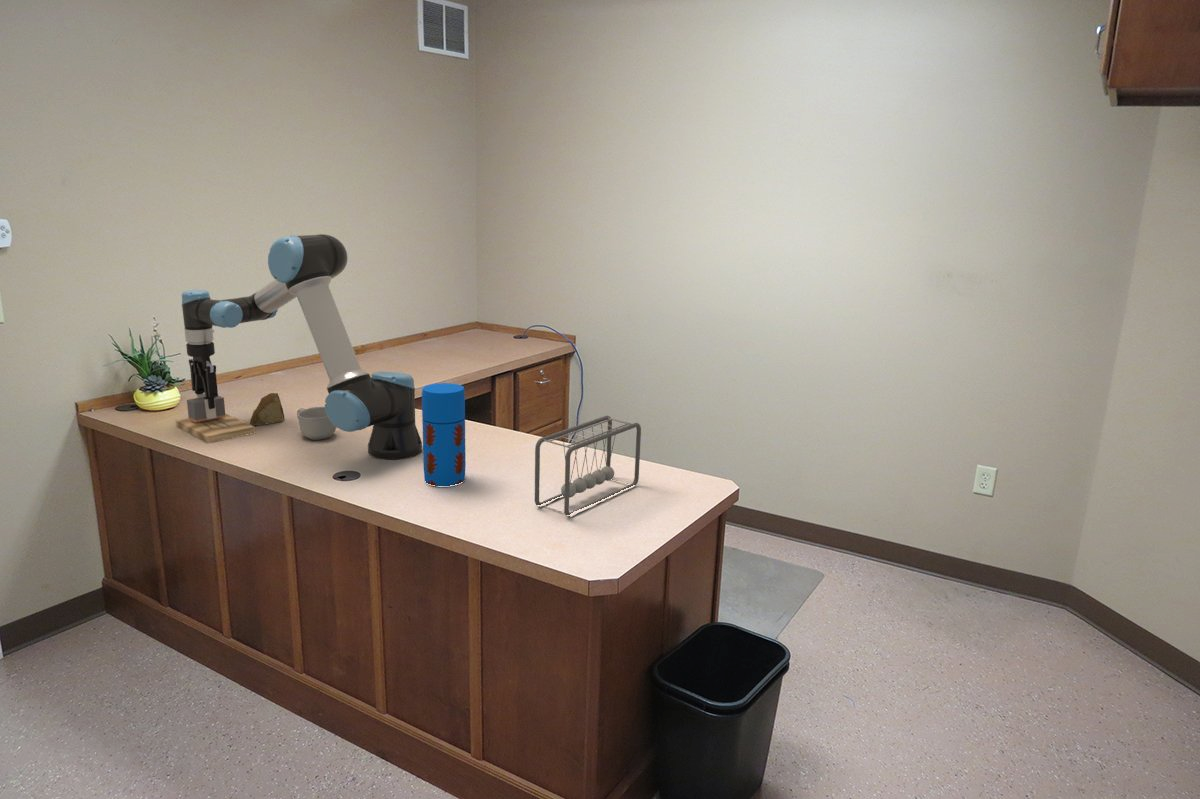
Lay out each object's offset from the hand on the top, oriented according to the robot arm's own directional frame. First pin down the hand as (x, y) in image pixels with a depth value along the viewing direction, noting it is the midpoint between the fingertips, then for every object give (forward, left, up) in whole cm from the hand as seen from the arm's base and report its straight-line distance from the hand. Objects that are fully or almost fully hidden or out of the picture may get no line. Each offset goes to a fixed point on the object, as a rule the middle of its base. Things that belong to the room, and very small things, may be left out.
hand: (207, 416), depth 252 cm
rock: (-8, -15, -3) cm, 17 cm away
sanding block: (0, 0, 0) cm, 0 cm away
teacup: (-30, -19, -3) cm, 36 cm away
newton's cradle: (-120, -43, -3) cm, 127 cm away
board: (-5, 0, -3) cm, 6 cm away
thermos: (-86, -24, -3) cm, 89 cm away
